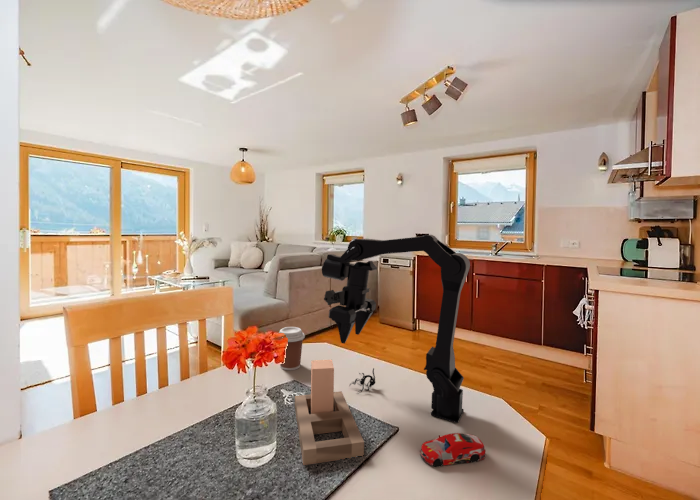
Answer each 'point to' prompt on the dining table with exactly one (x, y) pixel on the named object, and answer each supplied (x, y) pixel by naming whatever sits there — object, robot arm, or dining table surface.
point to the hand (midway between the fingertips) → (350, 338)
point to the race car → (453, 449)
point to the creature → (372, 382)
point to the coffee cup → (293, 347)
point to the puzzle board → (327, 431)
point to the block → (322, 386)
